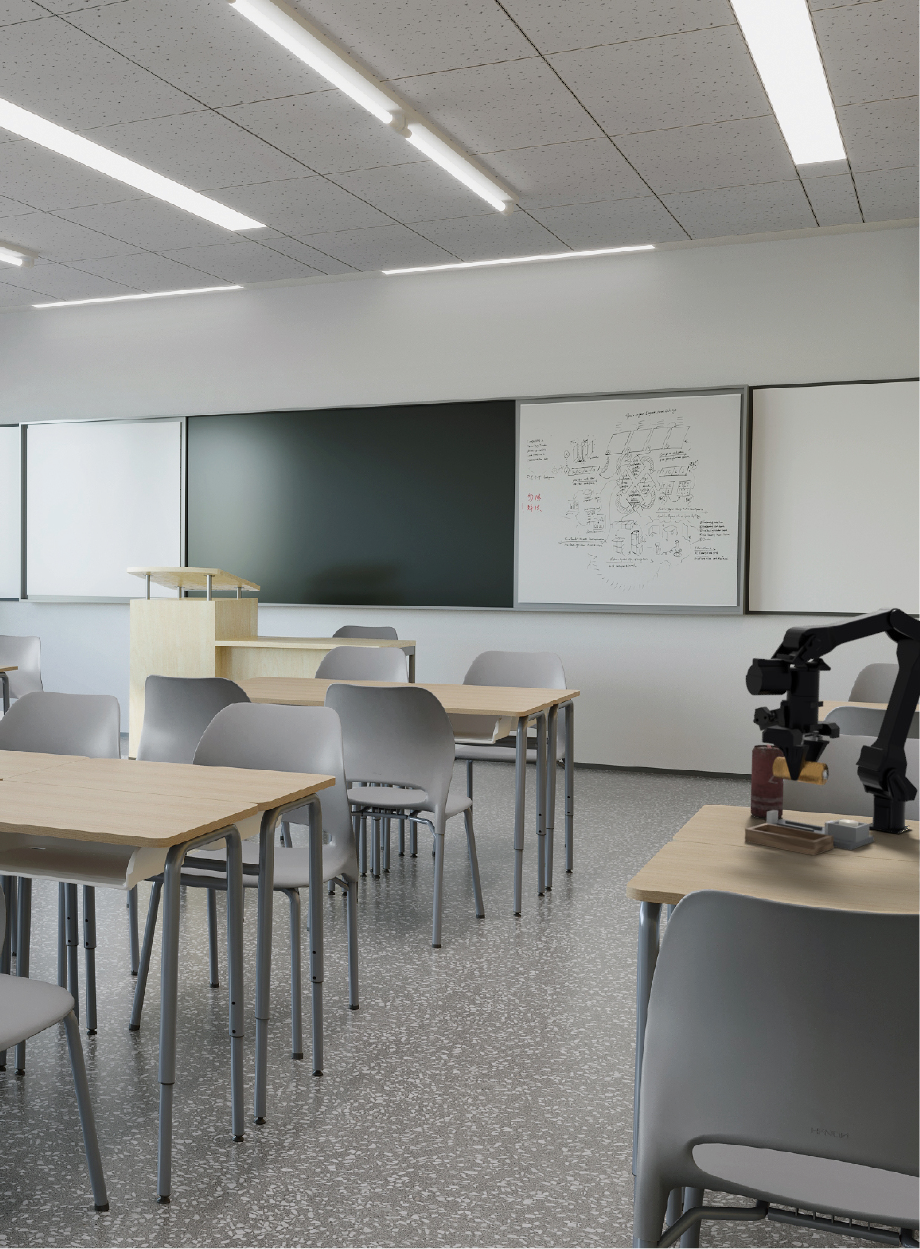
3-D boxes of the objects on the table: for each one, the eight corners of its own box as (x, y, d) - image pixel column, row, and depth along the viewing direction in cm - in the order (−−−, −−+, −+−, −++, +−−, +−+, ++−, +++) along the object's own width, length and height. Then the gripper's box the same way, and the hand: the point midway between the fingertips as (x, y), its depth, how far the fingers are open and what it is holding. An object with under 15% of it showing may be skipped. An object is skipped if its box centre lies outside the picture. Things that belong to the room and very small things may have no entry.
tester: (781, 824, 198) (782, 806, 198) (873, 841, 185) (874, 822, 185) (757, 831, 192) (757, 812, 192) (850, 850, 179) (851, 830, 179)
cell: (783, 776, 195) (783, 755, 195) (831, 784, 188) (832, 762, 188) (772, 779, 192) (773, 757, 192) (820, 787, 186) (821, 764, 185)
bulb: (843, 828, 186) (844, 818, 186) (861, 832, 184) (861, 822, 184) (835, 831, 184) (835, 821, 184) (853, 834, 182) (853, 824, 182)
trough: (765, 834, 189) (766, 823, 189) (833, 848, 180) (833, 836, 180) (745, 841, 184) (745, 829, 184) (813, 855, 175) (813, 842, 175)
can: (778, 813, 208) (780, 744, 207) (785, 820, 202) (787, 749, 201) (747, 812, 209) (749, 743, 208) (753, 819, 202) (755, 748, 202)
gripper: (787, 688, 202) (785, 767, 203) (736, 694, 189) (734, 778, 190) (842, 693, 194) (839, 775, 195) (793, 699, 181) (790, 788, 182)
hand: (800, 779), depth 191 cm, fingers closed on cell, 4 cm apart
